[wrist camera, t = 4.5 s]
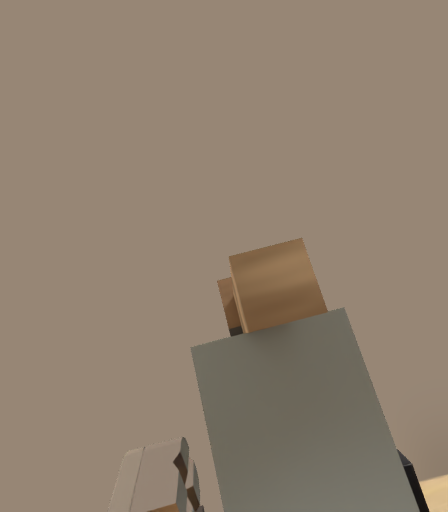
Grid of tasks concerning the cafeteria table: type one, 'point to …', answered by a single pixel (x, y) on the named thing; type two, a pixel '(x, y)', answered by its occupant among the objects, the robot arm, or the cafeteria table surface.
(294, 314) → the stamp
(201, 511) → the card box
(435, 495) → the cafeteria table surface
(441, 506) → the cafeteria table surface
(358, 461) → the stand
